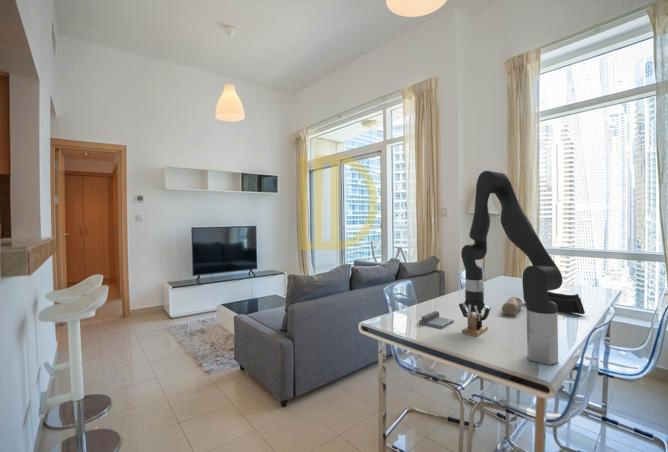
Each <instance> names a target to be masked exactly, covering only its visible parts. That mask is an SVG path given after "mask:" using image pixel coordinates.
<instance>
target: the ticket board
mask: <svg viewBox="0 0 668 452" xmlns="http://www.w3.org/2000/svg"><path fill="white" fill-rule="evenodd" d="M420 318H421V319H420V320H418V324H421V325H424V326H429V327H433V328H438V329H445V328H446V327H448V326H450V325H451V324H454V322H455V320H454V319H450V318H447V317H440V312H439V311H436V310H434V311H431V312H429V313H427V314H425V315H422V316H421V317H420Z"/></svg>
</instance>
